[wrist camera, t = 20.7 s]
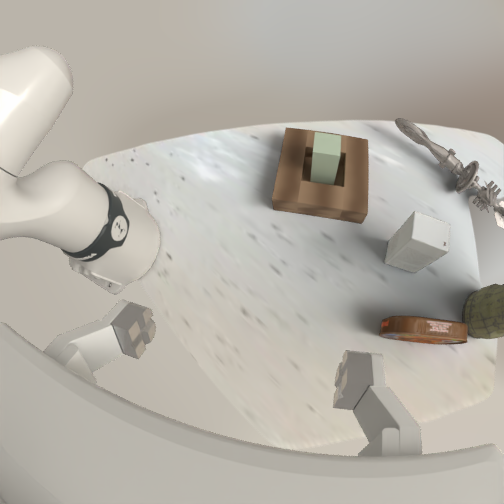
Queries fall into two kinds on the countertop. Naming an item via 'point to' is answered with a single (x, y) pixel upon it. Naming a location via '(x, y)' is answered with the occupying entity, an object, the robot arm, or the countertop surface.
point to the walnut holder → (317, 194)
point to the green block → (325, 158)
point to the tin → (424, 330)
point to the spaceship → (457, 170)
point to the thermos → (485, 312)
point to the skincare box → (418, 243)
